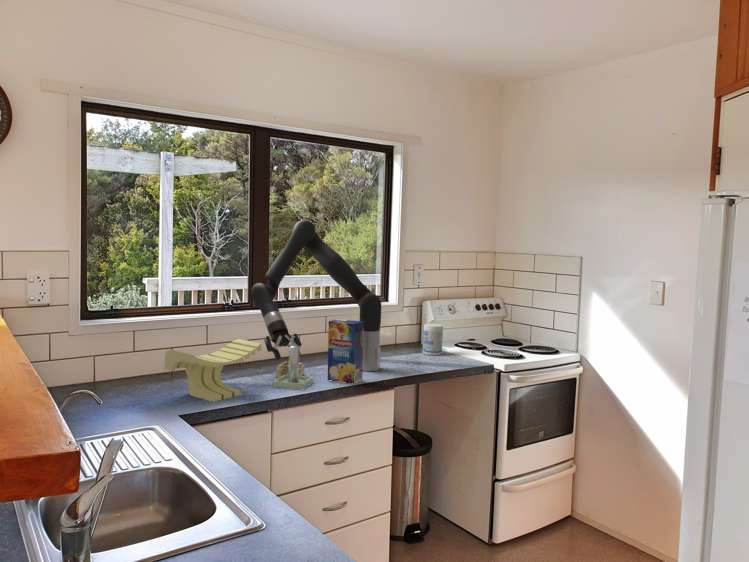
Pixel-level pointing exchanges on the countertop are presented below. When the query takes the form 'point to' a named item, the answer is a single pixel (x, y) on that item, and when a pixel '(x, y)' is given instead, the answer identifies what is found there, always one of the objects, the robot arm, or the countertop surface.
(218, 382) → the slatted curved stool
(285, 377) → the tray
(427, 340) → the supplement tub
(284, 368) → the bracket block
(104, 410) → the countertop surface
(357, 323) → the juice carton
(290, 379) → the translucent grey cylinder
